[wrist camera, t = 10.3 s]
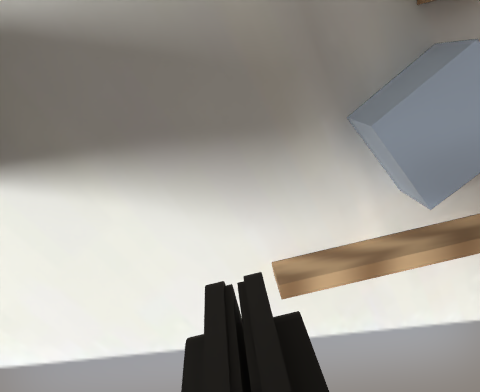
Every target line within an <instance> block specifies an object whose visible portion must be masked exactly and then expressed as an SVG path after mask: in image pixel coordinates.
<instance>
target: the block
mask: <svg viewBox="0 0 480 392" xmlns="http://www.w3.org/2000/svg"><path fill="white" fill-rule="evenodd" d="M347 118H348V120H349V121H350V123H351V124H352V125H353V127H354V128H355V129H356V131H357V132H358V133H359V135H360V136H361V138H362V139H363V140H364V142H365V143H366V144H367V146H368V147H369V149H370V150H371V151H372V153H373V154H374V155H375V157H376V158H377V159H378V161H379V162H380V164H381V165H382V166H383V168H384V169H385V170H386V172H387V173H388V174H389V176H390V177H391V179H392V180H393V181H394V183H395V184H396V185H397V187H398V188H399V189H400V191H402V192H403V193H405V194H407V195H408V196H410V197H411V198H413V199H414V200H416V201H418V202H419V203H421V204H422V205H424V206H425V207H427V208H428V209H430V210H431V209H432V208H434V207H435V206H436V205H438V204H439V203H440V202H442V201H443V200H444V199H446V198H447V197H449V196H450V195H451V194H453V193H454V192H455V191H457V190H458V189H459V188H461V187H462V186H463V185H465V184H466V183H467V182H469V181H470V180H471V179H473V178H474V177H475V176H477V175H478V174H479V173H480V42H479V40H478V39H473V40H464V41H455V42H445V43H436V44H434V45H433V46H432V47H431V48H429V49H428V50H427V51H426V52H425V53H424V54H422V55H421V56H420V57H419V58H418V59H416V60H415V61H414V62H413V63H412V64H410V65H409V66H408V67H407V68H406V69H404V70H403V71H402V72H401V73H400V74H398V75H397V76H396V77H395V78H394V79H392V80H391V81H390V82H389V83H388V84H386V85H385V86H384V87H383V88H382V89H380V90H379V91H378V92H377V93H376V94H374V95H373V96H372V97H371V98H370V99H368V100H367V101H366V102H365V103H364V104H362V105H361V106H360V107H359V108H358V109H356V110H355V111H354V112H353V113H352V114H350V115H349V116H348V117H347Z"/></svg>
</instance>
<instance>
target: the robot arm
mask: <svg viewBox="0 0 480 392" xmlns="http://www.w3.org/2000/svg"><path fill="white" fill-rule="evenodd" d="M237 284H238V292H239V300H240V307H241V314H240V310H239V307H238V303H237V300H236V296H235V293H234V289H233V286H232V284H231V285H227V286H226V285H225V283H224V281H222V282H218V283H214V284H210V285H206V286H205V315H204V334H202V335H198V336H194V337H190V338H187V340H186V345H185V357H184V368H183V380H182V391H181V392H329V390H328V387H327V385H326V382H325V379H324V376H323V374H322V371H321V369H320V366H319V363H318V360H317V358H316V355H315V352H314V350H313V347H312V344H311V342H310V339H309V336H308V333H307V330H306V328H305V325H304V322H303V320H302V317H301V314H300V312H299V311H297V312H293V313H289V314H285V315H281V316H277V317H273V316H272V312H271V308H270V304H269V300H268V296H267V292H266V288H265V284H264V280H263V277H262V273H261V272H259V273H255V274H251V275H247V276H244V281H243V282H239V283H237ZM241 315H242V318H241Z"/></svg>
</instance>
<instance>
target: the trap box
mask: <svg viewBox="0 0 480 392" xmlns="http://www.w3.org/2000/svg"><path fill="white" fill-rule="evenodd" d="M431 1H435V0H417V5H418V4H423V3H427V2H431ZM478 253H480V214H477V215H473V216H469V217H464V218H460V219H456V220H451V221H447V222H443V223H439V224H434V225H430V226H426V227H421V228H417V229H413V230H409V231H404V232H400V233H396V234H392V235H387V236H383V237H379V238H374V239H370V240H366V241H362V242H357V243H353V244H349V245H344V246H340V247H336V248H332V249H327V250H323V251H319V252H314V253H310V254H306V255H302V256H297V257H293V258H289V259H284V260H280V261H276V262H272V267H273V271H274V276H275V279H276V282H277V286H278V289H279V292H280V295H281V299H286V298H290V297H294V296H299V295H303V294H307V293H311V292H316V291H320V290H324V289H329V288H333V287H337V286H341V285H346V284H350V283H354V282H359V281H363V280H367V279H371V278H376V277H380V276H384V275H389V274H393V273H397V272H401V271H406V270H410V269H414V268H418V267H423V266H427V265H431V264H436V263H440V262H444V261H448V260H453V259H457V258H461V257H466V256H470V255H474V254H478Z"/></svg>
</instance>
